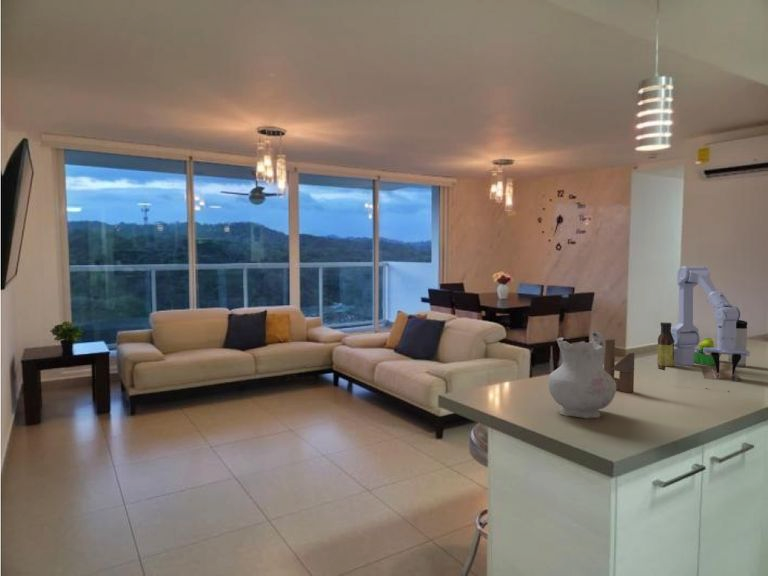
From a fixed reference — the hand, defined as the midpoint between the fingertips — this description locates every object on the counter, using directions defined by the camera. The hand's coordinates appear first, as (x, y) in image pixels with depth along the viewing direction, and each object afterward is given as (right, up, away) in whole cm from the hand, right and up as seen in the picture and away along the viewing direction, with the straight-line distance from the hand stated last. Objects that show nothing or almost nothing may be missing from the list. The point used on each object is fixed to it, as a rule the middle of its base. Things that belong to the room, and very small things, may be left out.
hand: (725, 373), depth 191 cm
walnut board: (+2, -3, +6) cm, 7 cm away
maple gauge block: (0, -2, 0) cm, 2 cm away
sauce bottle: (-10, -2, +22) cm, 25 cm away
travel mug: (+23, -1, +27) cm, 36 cm away
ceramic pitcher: (-69, -6, -35) cm, 78 cm away
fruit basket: (+12, -1, +32) cm, 34 cm away
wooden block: (-46, -5, -9) cm, 47 cm away
